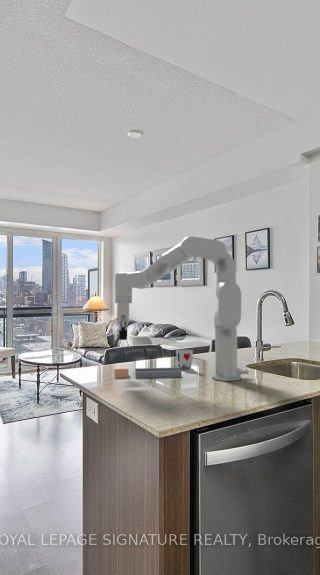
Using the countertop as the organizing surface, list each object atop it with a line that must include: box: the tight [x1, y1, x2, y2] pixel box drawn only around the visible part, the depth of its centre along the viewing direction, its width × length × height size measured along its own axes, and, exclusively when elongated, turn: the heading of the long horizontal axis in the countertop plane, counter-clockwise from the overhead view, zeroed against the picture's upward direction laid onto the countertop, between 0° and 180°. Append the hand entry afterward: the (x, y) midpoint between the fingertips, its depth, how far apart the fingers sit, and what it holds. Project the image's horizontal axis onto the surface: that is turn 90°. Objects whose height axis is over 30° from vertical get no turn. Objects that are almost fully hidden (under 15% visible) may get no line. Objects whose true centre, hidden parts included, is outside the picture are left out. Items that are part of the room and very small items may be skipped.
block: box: [113, 366, 129, 379], centre depth 166 cm, size 5×5×6 cm
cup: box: [175, 349, 194, 371], centre depth 183 cm, size 8×8×10 cm
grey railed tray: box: [134, 366, 182, 379], centre depth 168 cm, size 20×9×4 cm, turn 94°
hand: (123, 338), depth 167 cm, fingers open, 9 cm apart
